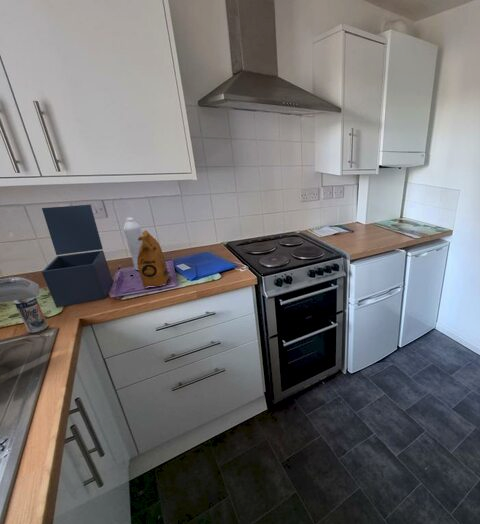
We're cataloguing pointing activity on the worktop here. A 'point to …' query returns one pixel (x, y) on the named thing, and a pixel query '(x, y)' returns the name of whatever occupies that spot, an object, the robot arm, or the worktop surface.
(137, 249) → the water bottle
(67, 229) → the box lid
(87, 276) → the storage box
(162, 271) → the coffee package
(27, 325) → the beer can
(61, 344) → the worktop surface
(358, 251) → the worktop surface
